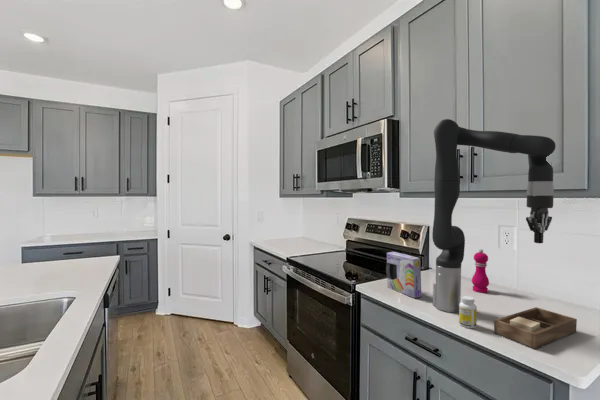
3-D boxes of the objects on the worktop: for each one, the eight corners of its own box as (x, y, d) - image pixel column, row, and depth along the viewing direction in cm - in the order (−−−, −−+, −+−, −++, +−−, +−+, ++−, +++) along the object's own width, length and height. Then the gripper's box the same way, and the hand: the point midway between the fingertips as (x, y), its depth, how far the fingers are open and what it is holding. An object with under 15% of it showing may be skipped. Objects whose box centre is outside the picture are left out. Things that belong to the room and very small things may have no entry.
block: (509, 331, 100) (509, 320, 100) (518, 327, 103) (518, 316, 103) (531, 338, 95) (531, 327, 95) (539, 334, 98) (540, 323, 98)
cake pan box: (384, 286, 154) (385, 251, 153) (392, 285, 156) (393, 250, 155) (413, 299, 136) (414, 259, 135) (422, 297, 138) (422, 258, 137)
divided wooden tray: (494, 333, 103) (494, 319, 103) (535, 319, 115) (536, 307, 115) (534, 349, 93) (535, 334, 92) (576, 332, 105) (576, 319, 104)
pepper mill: (487, 289, 150) (488, 248, 150) (489, 294, 143) (490, 251, 143) (470, 287, 153) (471, 247, 153) (472, 292, 146) (473, 249, 146)
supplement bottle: (470, 322, 112) (471, 295, 112) (479, 328, 107) (480, 300, 106) (455, 322, 112) (456, 295, 112) (464, 328, 106) (464, 300, 106)
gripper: (537, 194, 117) (536, 240, 117) (517, 194, 111) (516, 242, 111) (562, 194, 110) (560, 243, 110) (542, 194, 104) (540, 246, 104)
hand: (538, 242), depth 111 cm, fingers closed
